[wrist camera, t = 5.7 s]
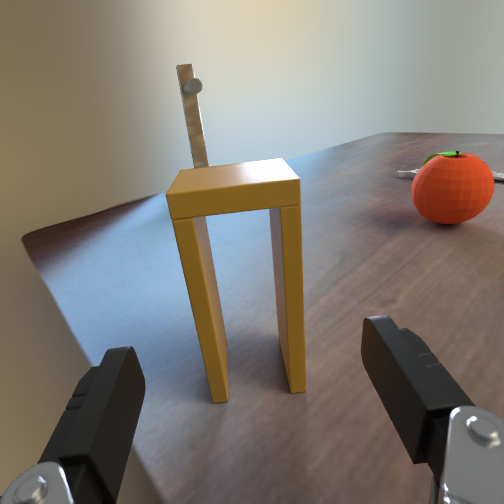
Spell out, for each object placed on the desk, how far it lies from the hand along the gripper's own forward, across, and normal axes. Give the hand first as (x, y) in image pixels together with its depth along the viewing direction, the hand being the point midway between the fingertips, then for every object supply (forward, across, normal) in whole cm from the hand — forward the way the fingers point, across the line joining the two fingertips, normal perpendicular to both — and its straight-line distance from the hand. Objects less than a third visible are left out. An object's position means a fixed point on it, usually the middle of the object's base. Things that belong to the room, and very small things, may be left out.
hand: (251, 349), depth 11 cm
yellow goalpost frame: (+5, 0, +6) cm, 7 cm away
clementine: (+21, -21, +6) cm, 31 cm away
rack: (+39, +4, +6) cm, 40 cm away
